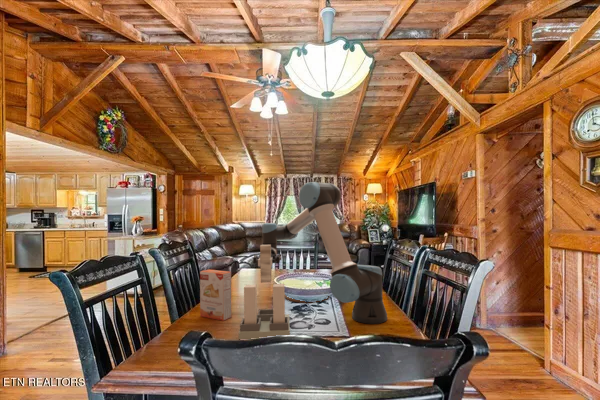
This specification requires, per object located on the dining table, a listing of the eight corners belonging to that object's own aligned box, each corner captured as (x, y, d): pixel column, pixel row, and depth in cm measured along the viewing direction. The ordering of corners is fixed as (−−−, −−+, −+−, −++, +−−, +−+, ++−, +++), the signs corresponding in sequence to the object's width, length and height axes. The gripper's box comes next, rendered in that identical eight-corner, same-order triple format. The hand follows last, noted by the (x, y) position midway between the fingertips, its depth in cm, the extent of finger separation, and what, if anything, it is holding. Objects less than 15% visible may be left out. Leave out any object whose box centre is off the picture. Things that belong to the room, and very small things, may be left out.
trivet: (326, 290, 189) (326, 287, 189) (332, 303, 164) (332, 299, 164) (284, 291, 188) (284, 288, 188) (284, 304, 163) (284, 300, 163)
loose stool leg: (261, 280, 142) (261, 244, 142) (271, 280, 142) (270, 244, 142) (260, 282, 137) (260, 245, 138) (270, 282, 137) (270, 245, 138)
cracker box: (199, 317, 144) (199, 271, 145) (208, 313, 150) (208, 268, 150) (223, 321, 138) (222, 273, 138) (232, 317, 143) (231, 271, 144)
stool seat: (245, 322, 136) (244, 278, 137) (289, 321, 137) (288, 277, 138) (238, 340, 117) (238, 289, 118) (289, 338, 118) (289, 287, 119)
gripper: (286, 262, 158) (285, 271, 135) (251, 263, 157) (244, 272, 134) (285, 247, 158) (285, 253, 135) (250, 248, 158) (244, 254, 134)
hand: (264, 262), depth 135 cm, fingers closed on loose stool leg, 4 cm apart
